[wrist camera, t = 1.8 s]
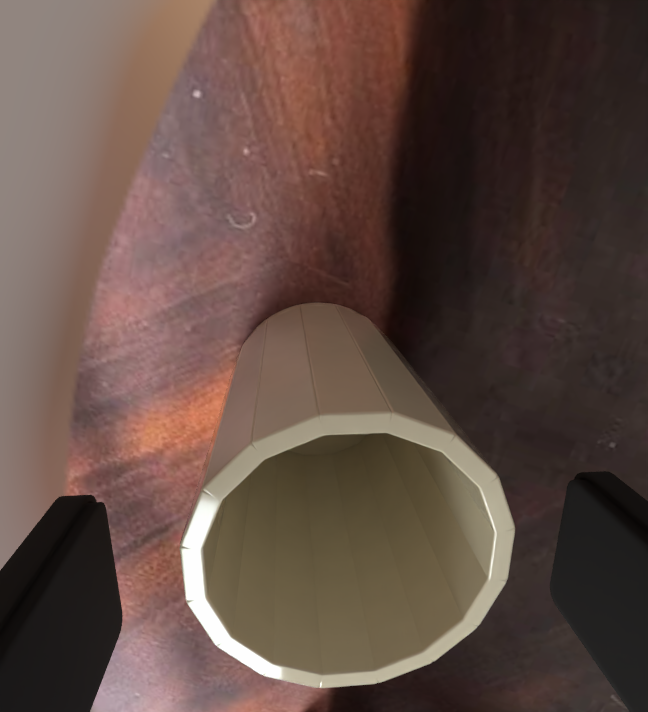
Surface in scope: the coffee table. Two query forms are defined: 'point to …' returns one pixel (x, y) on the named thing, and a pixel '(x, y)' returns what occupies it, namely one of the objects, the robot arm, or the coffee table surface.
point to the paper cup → (340, 510)
